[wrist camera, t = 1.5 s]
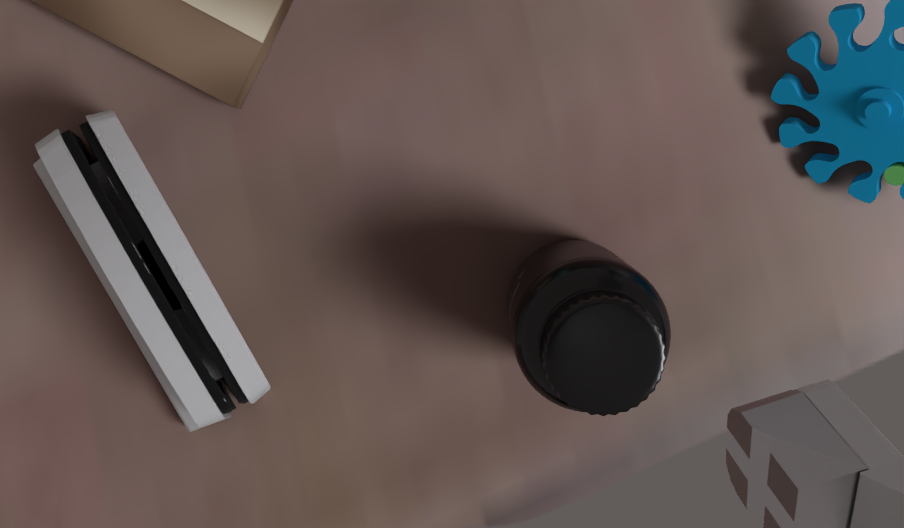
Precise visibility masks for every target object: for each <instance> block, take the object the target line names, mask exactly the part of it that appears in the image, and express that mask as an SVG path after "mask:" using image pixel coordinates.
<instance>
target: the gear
mask: <svg viewBox="0 0 904 528" xmlns="http://www.w3.org/2000/svg"><path fill="white" fill-rule="evenodd" d="M864 14H865V11H864V7H863V6H862V4H856V3H855V4H845V5H841V6H837V7H835V8H834V9H833V10H832V11H831V13H830V15H829V24H830V26H831V28H832V29H833V30H834V32H835V34H836V36H837V39H838V43H839V55H838V60H837V64H834V65H828V64H825V63H824V62H823V61H822V60H821V58H820V48H821V39H820V37H819V36H818V34H816V33H815V32H813V31H811V32H808V33H806V34H804V35H802V36H801V37H800V38H798V39H797V40H796V41H795V42H794V43H793V44H792V45H791V46H790V47H789V48H788V49H787V53H788V55H789V57H790V58H791V59H792V60H794V61H796V62H798V63H800V64H801V65H803V66H804V67H806V68H807V69H808V70H809V71H810V73H811V74H812V75H813V77H814V79H815V81H816V83H817V85H818V88H819V94H814V95H813V94H809V93H807V92H806V91H805V90H804V89H803V87H802V84H801V82H800V80H799V79H798V77H797V76H795V75H793V74H790V73H785V74H784V75H783V77H782V78H781V79H780V80H779V81H778V82H777V83H776V85H775V86H774V89H773V91H772V95H771V99H772V100H773V101H774V102H775V103H778V104H791V105H796V106H800V107H802V108H804V109H806V110H808V111H809V112H811V113H812V114H813V115H815V116H816V117H817V118H818V119H819V121H820V126H819V127H811V126H809V125H807V124H806V123H805V122H804V121H802V120H801V119H799V118H795V117H790V118H787V119H785V121H784V122H783V123H782V124H781V125H780V128H779V136H780V141H781V144H782V146H784V147H787V148H792V147H795V146H797V145H799V144H801V143H804V142H808V141H822V142H827V143H832V144H834V145H836V146H837V147H838V149H839V153H840V154H838V155H830V154H825V153H818V154H815V155H813V156H812V157H811V158H810V160H809V161H808V162H807V163H806V165H805V169H806V171H807V173H808V174H809V175H810V177H811V178H812V179H813V180H814V181H815V182H816V183H824V182H826V181H827V180H828V179H829V178H830V176H831V175H832V173H833V172H834V171H835V170H836V169H837V168H839V167H840V166H842V165H844V164H847V163H850V162H854V161H858V160H863V161H866V162H868V163H869V164H870V165H871V166H872V170H873V171H870V172H867V173H863V174H860V175H858V176H857V177H856V178H855V179H854V180H853V182H852V183H851V185H850V187H849V189H848V193H849V194H850V195H852V196H853V197H855V198H857V199H859V200H861V201H864V202H867V203H871V202H873V201H874V200H875V198H876V196H877V195H878V193H879V191H880V190H881V178H882V174H883V172H884V171H885V172H884V179H885V180H886V182H887V183H889V184H891V185H896V186H898V185H901V184H902V186H901V188H900V195H901V197H902V198H903V199H904V44H901V43H899V42H897V41H896V39H895V37H894V30H896V29H898V28H901V27H903V26H904V0H890V2H889V3H888V4H887V6H886V8H885V21H884V26H883V29H882V32H881V33H880V35H879V37H878V38H877V39H876V40H875V41H874V42H873V43H872V44H870V45H868V46H861V45H858V44H857V43H856V42H855V41H854V39H853V32H854V30H855V28H856V27H857V26H858V25H859V24H860V23H861V21H862V20H863V18H864Z"/></svg>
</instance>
